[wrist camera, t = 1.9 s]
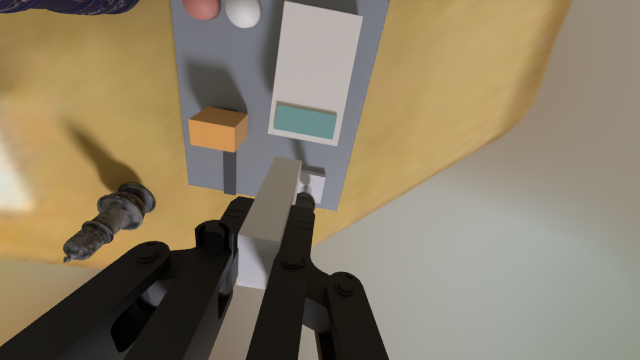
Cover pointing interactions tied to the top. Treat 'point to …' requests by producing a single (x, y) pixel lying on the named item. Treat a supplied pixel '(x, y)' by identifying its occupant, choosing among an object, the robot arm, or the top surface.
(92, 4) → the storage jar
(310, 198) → the toggle
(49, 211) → the top surface
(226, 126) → the slider
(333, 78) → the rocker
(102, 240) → the chess piece
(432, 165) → the top surface
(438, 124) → the top surface
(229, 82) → the panel
